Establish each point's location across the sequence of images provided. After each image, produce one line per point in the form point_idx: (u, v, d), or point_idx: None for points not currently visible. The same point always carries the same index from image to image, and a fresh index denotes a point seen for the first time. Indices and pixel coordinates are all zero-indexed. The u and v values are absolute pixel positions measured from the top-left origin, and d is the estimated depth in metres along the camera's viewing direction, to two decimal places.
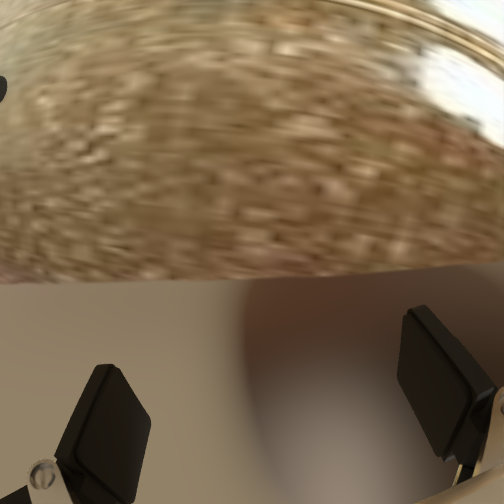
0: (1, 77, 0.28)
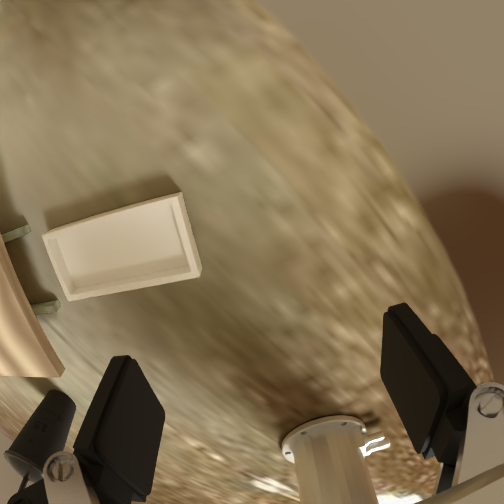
0: (73, 410, 0.34)
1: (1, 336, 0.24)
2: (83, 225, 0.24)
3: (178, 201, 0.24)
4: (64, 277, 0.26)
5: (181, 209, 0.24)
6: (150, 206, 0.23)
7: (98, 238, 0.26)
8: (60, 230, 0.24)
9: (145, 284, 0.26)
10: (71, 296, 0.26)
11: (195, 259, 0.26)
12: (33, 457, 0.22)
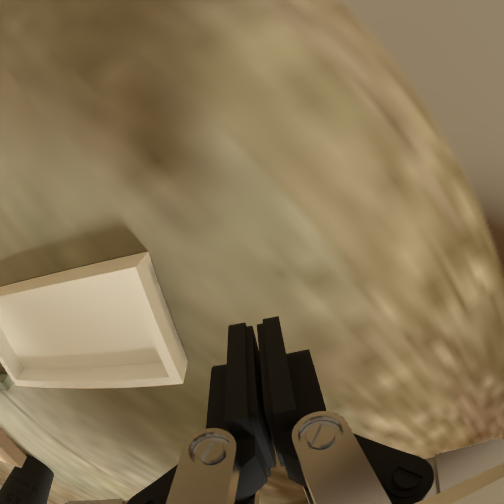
0: (50, 478, 0.23)
1: None
2: (11, 298, 0.14)
3: (139, 275, 0.13)
4: (5, 357, 0.16)
5: (145, 287, 0.14)
6: (95, 281, 0.13)
7: (37, 313, 0.15)
8: None
9: (105, 385, 0.16)
10: (17, 381, 0.16)
11: (174, 359, 0.15)
12: None
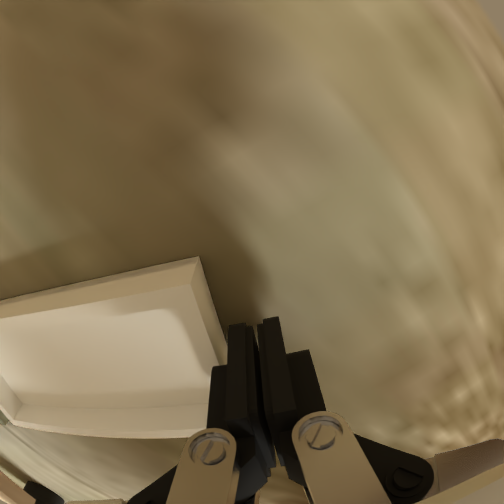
0: None
1: None
2: None
3: (194, 295, 0.09)
4: None
5: (202, 313, 0.09)
6: (121, 305, 0.09)
7: (33, 341, 0.11)
8: None
9: (135, 435, 0.11)
10: (16, 421, 0.11)
11: None
12: None
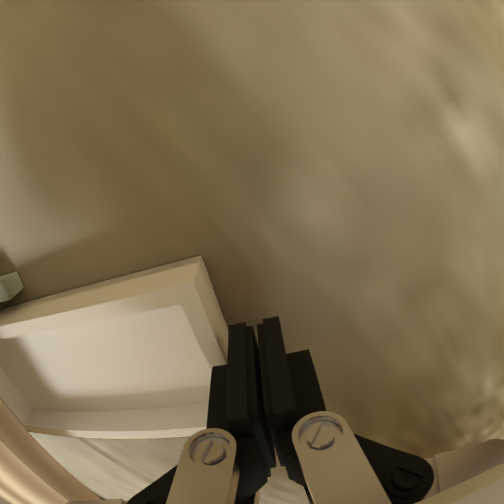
0: None
1: (3, 480, 0.09)
2: (4, 331, 0.09)
3: (198, 293, 0.09)
4: (8, 399, 0.11)
5: (207, 310, 0.09)
6: (126, 306, 0.09)
7: (42, 346, 0.11)
8: None
9: (144, 435, 0.11)
10: (26, 426, 0.12)
11: None
12: None
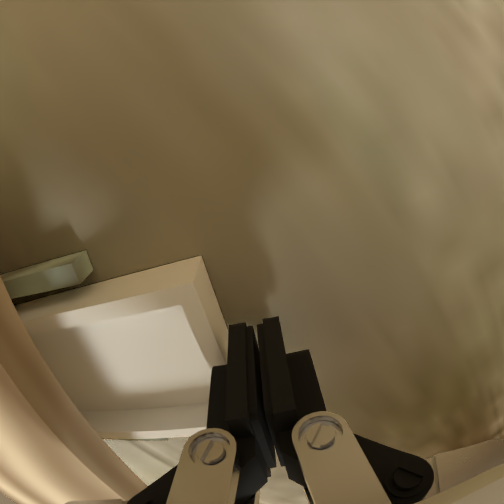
0: None
1: (48, 497, 0.08)
2: None
3: (197, 294, 0.09)
4: None
5: (206, 311, 0.09)
6: (126, 307, 0.09)
7: (42, 346, 0.11)
8: None
9: (144, 435, 0.11)
10: None
11: None
12: None
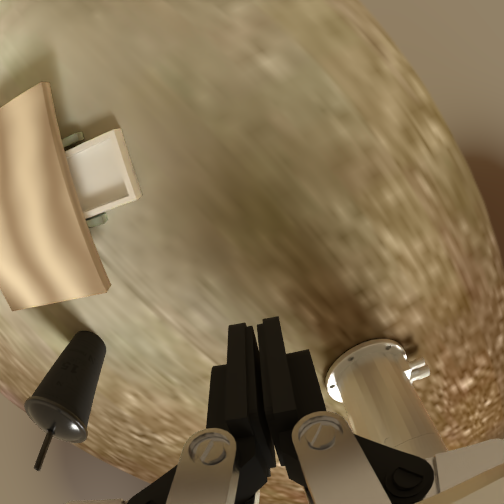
0: (104, 353, 0.35)
1: (38, 251, 0.24)
2: None
3: (115, 133, 0.24)
4: None
5: (118, 140, 0.25)
6: (93, 141, 0.24)
7: None
8: None
9: (92, 213, 0.27)
10: None
11: (132, 184, 0.27)
12: (62, 401, 0.24)
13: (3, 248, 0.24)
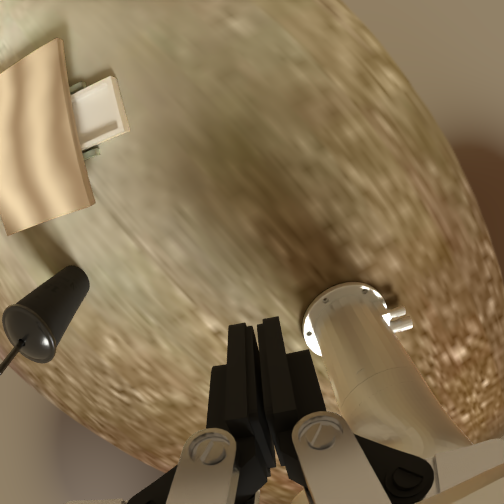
0: (86, 287, 0.38)
1: (37, 173, 0.27)
2: None
3: (111, 79, 0.28)
4: None
5: (113, 84, 0.28)
6: (93, 86, 0.28)
7: None
8: None
9: (87, 144, 0.30)
10: None
11: (122, 119, 0.30)
12: (37, 309, 0.26)
13: (8, 174, 0.27)
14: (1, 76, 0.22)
